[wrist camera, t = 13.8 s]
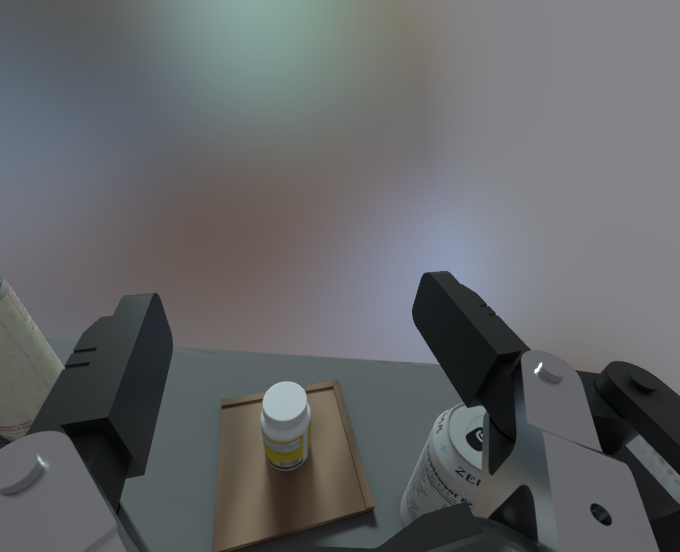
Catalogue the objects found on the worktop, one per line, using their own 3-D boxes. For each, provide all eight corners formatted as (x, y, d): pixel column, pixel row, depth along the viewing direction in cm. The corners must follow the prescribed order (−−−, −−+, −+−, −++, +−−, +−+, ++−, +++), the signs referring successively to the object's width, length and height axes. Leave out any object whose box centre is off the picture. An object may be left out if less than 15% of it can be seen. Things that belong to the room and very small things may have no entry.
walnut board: (214, 556, 25) (211, 551, 25) (223, 405, 36) (221, 399, 36) (373, 510, 29) (374, 505, 28) (337, 385, 40) (337, 379, 39)
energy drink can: (479, 539, 28) (556, 456, 19) (428, 582, 25) (492, 508, 17) (433, 473, 32) (479, 382, 23) (385, 504, 29) (419, 414, 21)
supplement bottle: (287, 417, 35) (285, 369, 30) (319, 443, 33) (322, 395, 28) (254, 452, 32) (246, 403, 27) (288, 483, 29) (286, 436, 25)
